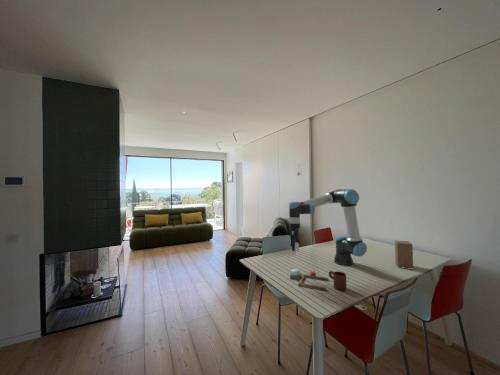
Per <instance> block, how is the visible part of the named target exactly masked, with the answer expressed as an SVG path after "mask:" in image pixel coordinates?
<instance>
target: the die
mask: <svg viewBox="0 0 500 375" xmlns="http://www.w3.org/2000/svg"><path fill="white" fill-rule="evenodd" d="M309 275H312V276H317V272H316V271H315V270H309Z"/></svg>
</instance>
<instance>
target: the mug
mask: <svg viewBox="0 0 500 375" xmlns="http://www.w3.org/2000/svg"><path fill="white" fill-rule="evenodd" d="M328 276H329V279H332V280H333V288H334V289H335V290H336V291H341V292H342V291H346V290H347V274H346V273H345V272H342V271H333V270H329V272H328Z"/></svg>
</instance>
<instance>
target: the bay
mask: <svg viewBox="0 0 500 375" xmlns="http://www.w3.org/2000/svg"><path fill="white" fill-rule="evenodd" d="M305 278H308V279H313V280H320V281H324V282H325V281H326V282H329V277H324V276H317V275H316V276H312V275H310V274H305V273H302V277H301V279H300V280H298V284H297V285H298V287H303V288H307V289H309V288H310V289H314V290H318V291H319V290H320V291H326V292H327V287H325V286H319V285H313V284H309V283H303V282H304V280H305Z"/></svg>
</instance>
